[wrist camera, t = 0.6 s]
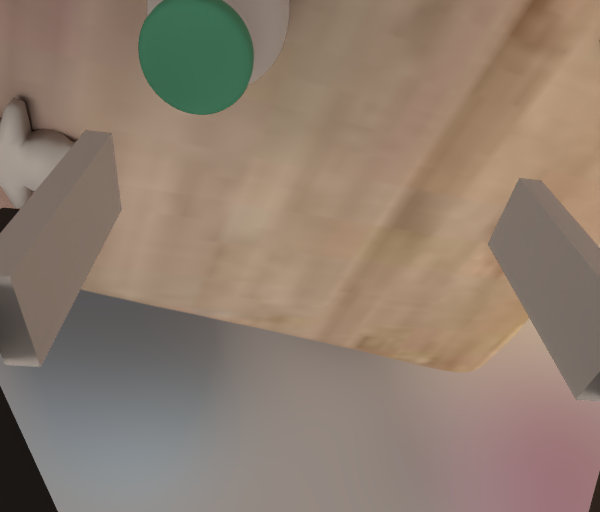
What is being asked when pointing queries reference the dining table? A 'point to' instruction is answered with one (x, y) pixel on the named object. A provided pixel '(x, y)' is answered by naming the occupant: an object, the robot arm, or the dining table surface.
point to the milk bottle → (209, 49)
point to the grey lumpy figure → (26, 153)
